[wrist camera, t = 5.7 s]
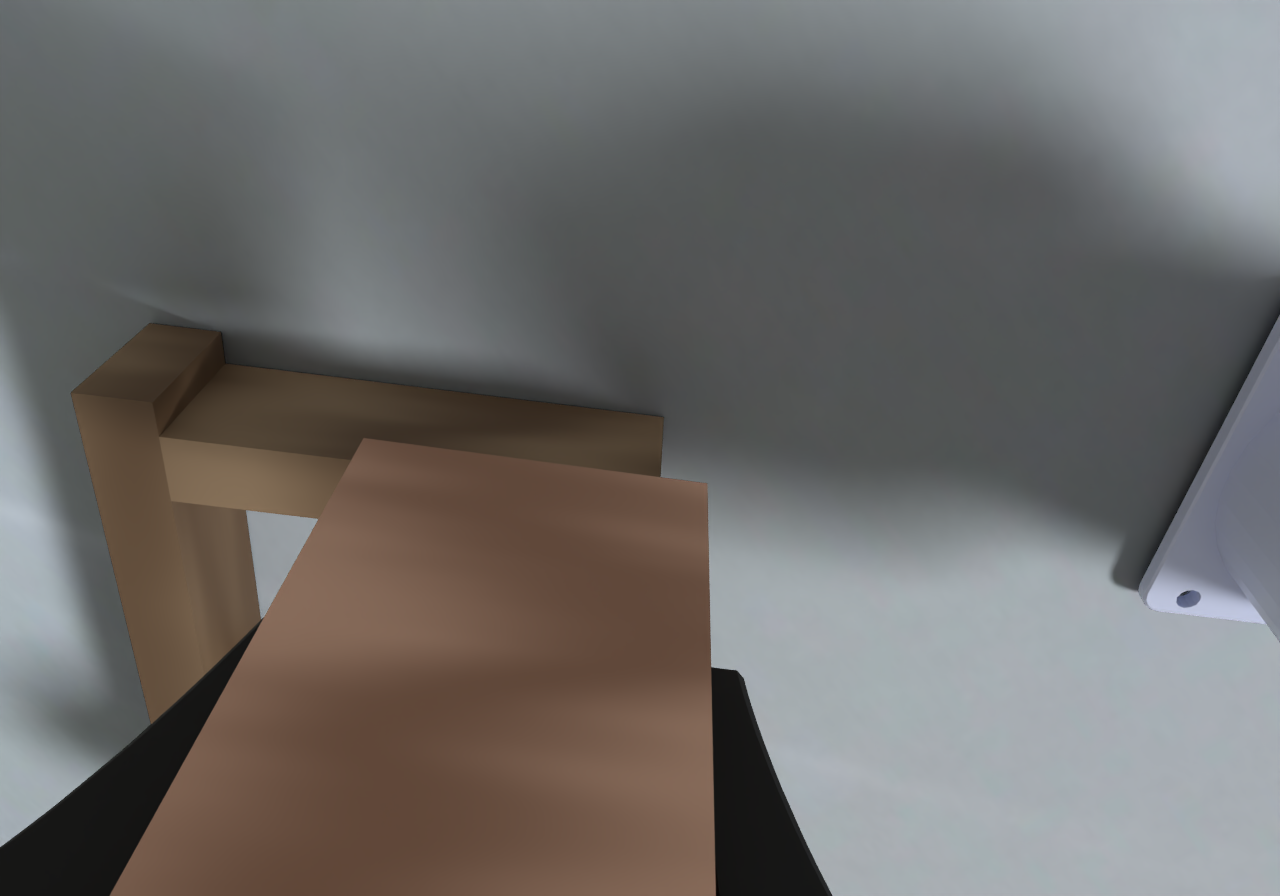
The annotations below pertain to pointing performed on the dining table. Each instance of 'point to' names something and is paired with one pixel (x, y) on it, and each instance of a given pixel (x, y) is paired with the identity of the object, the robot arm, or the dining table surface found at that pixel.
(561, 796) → the plug block
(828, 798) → the dining table surface
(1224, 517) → the robot arm
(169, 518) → the comb rack
